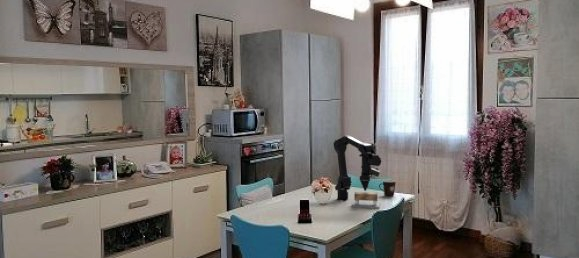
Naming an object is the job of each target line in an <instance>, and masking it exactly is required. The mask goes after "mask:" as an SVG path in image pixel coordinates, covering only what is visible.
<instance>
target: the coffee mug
mask: <svg viewBox="0 0 579 258" xmlns="http://www.w3.org/2000/svg"><path fill="white" fill-rule="evenodd" d="M396 182H397V181H396V180H393V179H384V180H382V183H379V185H378V188H379V189H380V190H381V191H382V192H383V194H384V196H385V195H386V196H385V197H394V196H395V191H396V190H395V189H396V184H397V183H396ZM381 185H382V186H383V188H381ZM393 195H394V196H393Z"/></svg>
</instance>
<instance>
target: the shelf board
mask: <svg viewBox="0 0 579 258" xmlns="http://www.w3.org/2000/svg"><path fill="white" fill-rule="evenodd" d="M353 194H354V197H353V198H354V201H355V200H359V201H365V202H367V201H368V202H371V201H372V202H373V201H377V202H378V192H371V191H370V192H368V191H354V193H353Z"/></svg>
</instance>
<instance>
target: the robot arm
mask: <svg viewBox="0 0 579 258" xmlns="http://www.w3.org/2000/svg"><path fill="white" fill-rule="evenodd" d="M349 144H350V146H351V147H352V146H353V147H355V148H356V149H357V151H358V152H359V153H360V154H359V155H358V156H359V157H361V165H360V168H361V172H360V175H359V181H360V184H361V185H362V186H361V187H362V188H363V190H364V191H363V192H367V190H368V188H369V184H370V182H371V178H373V176H375V177H377V178H379V177H380V173H381V170H380V169H379V168H378V167H379V166H381V164H382V158H381V157H380V155H379V154H376V151H375V149H374V148H373V145H372V144H371V143H367V142H362V141H360V140H358V139H356V138H354V137H352V135H343V137H340V138H338V139H336V140H334V141H333V148H334V151H335V152H336V155H337V163H338V171H339V172H338V173H339V175H338V179H337V184H336V185H335V186H334V190H335V191H337V197H336V200H337V201H339V200H340V201H347V200H348V199H349V191H350V189H351V186H352V178H351V176H349V175H348V169H347V161H346V151H347V148H348V145H349ZM374 167H375V168H374ZM348 190H349V191H348Z"/></svg>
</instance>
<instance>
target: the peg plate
mask: <svg viewBox="0 0 579 258" xmlns="http://www.w3.org/2000/svg"><path fill="white" fill-rule="evenodd" d="M350 207H351V208H361V207H362V208H364V209H378V210H379V209H380V207H381V203H380V202H378V200H377V201H372V202H369V201H368V202H367V201H365V202H363V201H360V200H354V201H353V202H352V203H351V205H350Z"/></svg>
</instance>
